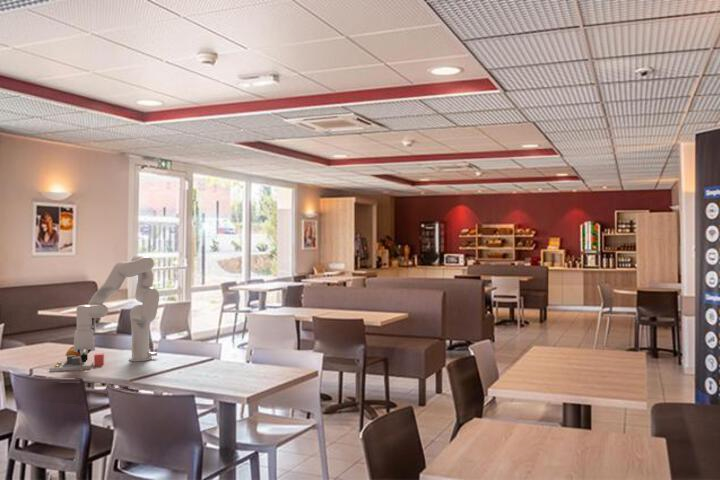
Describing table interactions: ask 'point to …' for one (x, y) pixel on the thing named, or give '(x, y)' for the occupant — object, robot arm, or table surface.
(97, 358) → the red rectangular block
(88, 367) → the panel
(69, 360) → the breaker
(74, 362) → the breaker
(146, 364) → the table surface
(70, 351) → the cheeseburger
